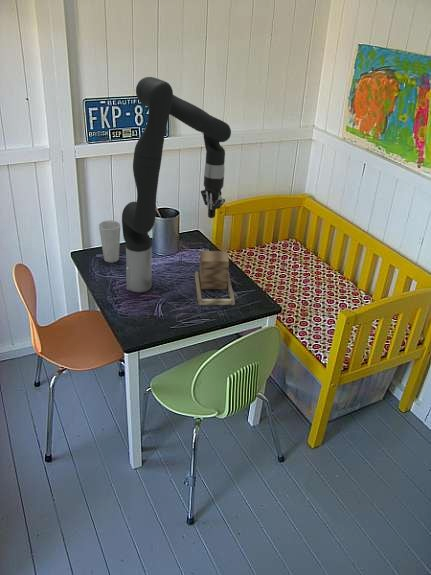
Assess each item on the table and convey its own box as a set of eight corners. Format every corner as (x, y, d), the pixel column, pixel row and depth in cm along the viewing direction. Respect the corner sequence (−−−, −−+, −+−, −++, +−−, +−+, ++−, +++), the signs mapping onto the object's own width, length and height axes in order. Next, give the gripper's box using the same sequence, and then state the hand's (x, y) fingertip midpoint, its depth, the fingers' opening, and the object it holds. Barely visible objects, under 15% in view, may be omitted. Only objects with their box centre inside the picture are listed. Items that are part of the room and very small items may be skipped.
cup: (118, 253, 229) (117, 219, 220) (124, 262, 222) (123, 228, 214) (98, 256, 226) (96, 221, 217) (103, 265, 219) (101, 230, 211)
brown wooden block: (200, 289, 206) (201, 261, 199) (199, 278, 213) (200, 250, 206) (227, 289, 207) (229, 261, 200) (224, 278, 214) (226, 250, 207)
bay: (191, 308, 197) (191, 301, 195) (188, 278, 214) (188, 271, 213) (240, 307, 199) (241, 301, 197) (234, 278, 216) (234, 271, 215)
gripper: (195, 171, 208) (193, 213, 217) (217, 181, 199) (214, 225, 208) (211, 168, 212) (208, 210, 221) (232, 178, 203) (229, 221, 212)
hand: (211, 217), depth 214 cm, fingers closed
